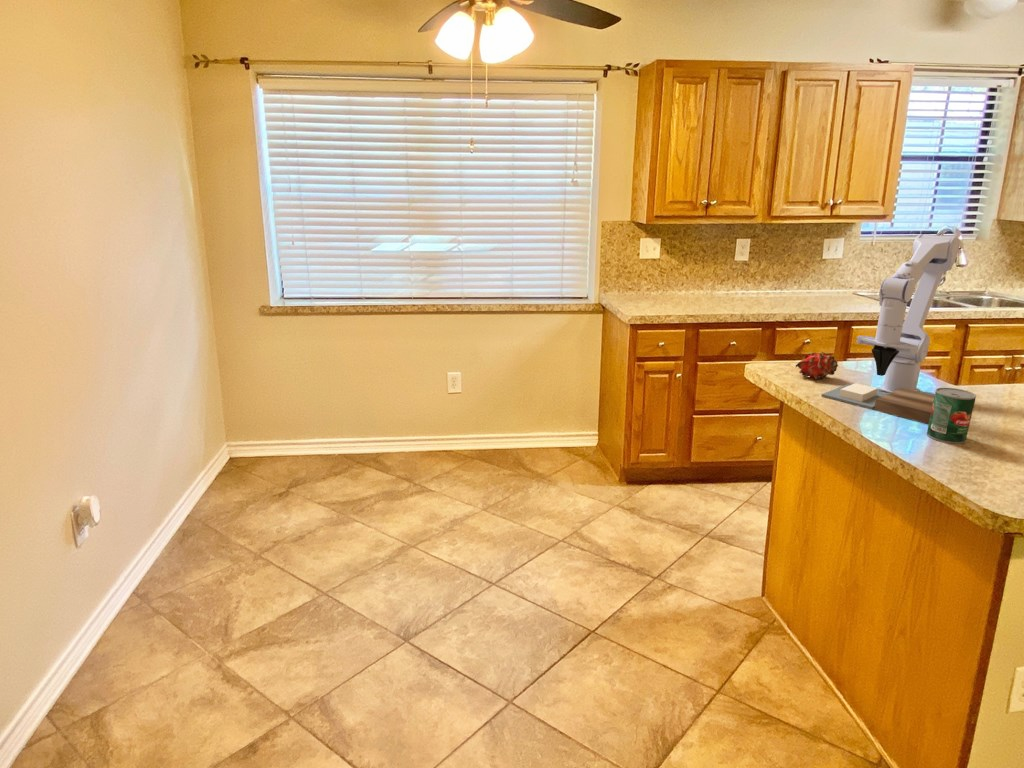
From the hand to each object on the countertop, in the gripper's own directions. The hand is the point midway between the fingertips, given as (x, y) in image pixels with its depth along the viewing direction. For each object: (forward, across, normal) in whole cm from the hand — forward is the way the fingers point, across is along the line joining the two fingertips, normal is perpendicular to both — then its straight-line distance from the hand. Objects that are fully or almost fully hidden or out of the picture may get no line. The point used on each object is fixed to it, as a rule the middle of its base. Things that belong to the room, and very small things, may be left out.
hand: (881, 374), depth 178 cm
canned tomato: (+8, +22, -14) cm, 27 cm away
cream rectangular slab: (+6, -5, 0) cm, 8 cm away
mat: (+8, -5, +1) cm, 9 cm away
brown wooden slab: (+8, +10, +1) cm, 12 cm away
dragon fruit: (+8, -22, +9) cm, 25 cm away
